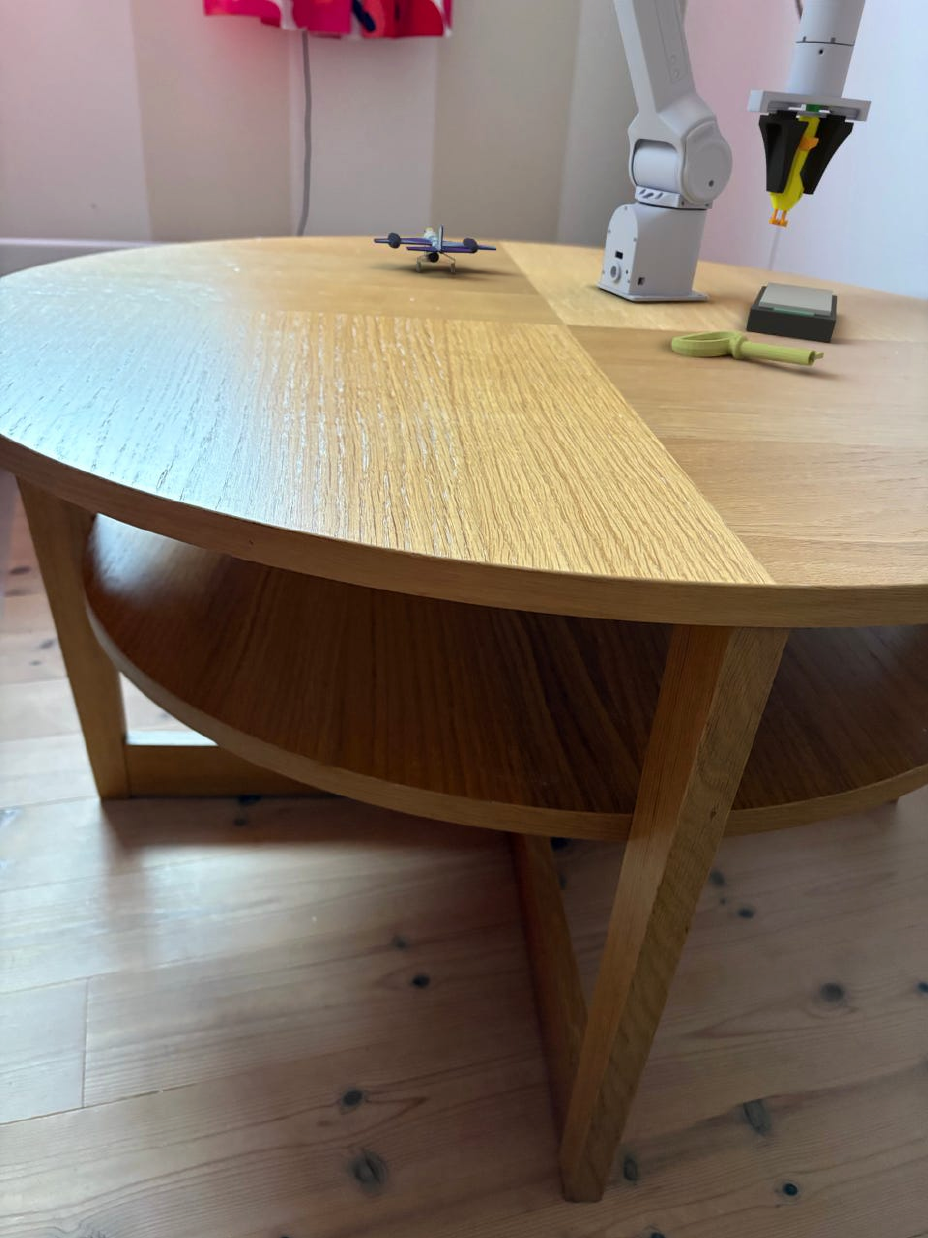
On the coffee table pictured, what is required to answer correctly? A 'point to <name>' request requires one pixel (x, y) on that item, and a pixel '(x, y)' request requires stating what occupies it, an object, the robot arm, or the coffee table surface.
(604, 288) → the robot arm
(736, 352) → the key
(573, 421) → the coffee table surface
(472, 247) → the toy airplane
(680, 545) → the coffee table surface
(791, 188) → the toy figure
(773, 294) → the scale
